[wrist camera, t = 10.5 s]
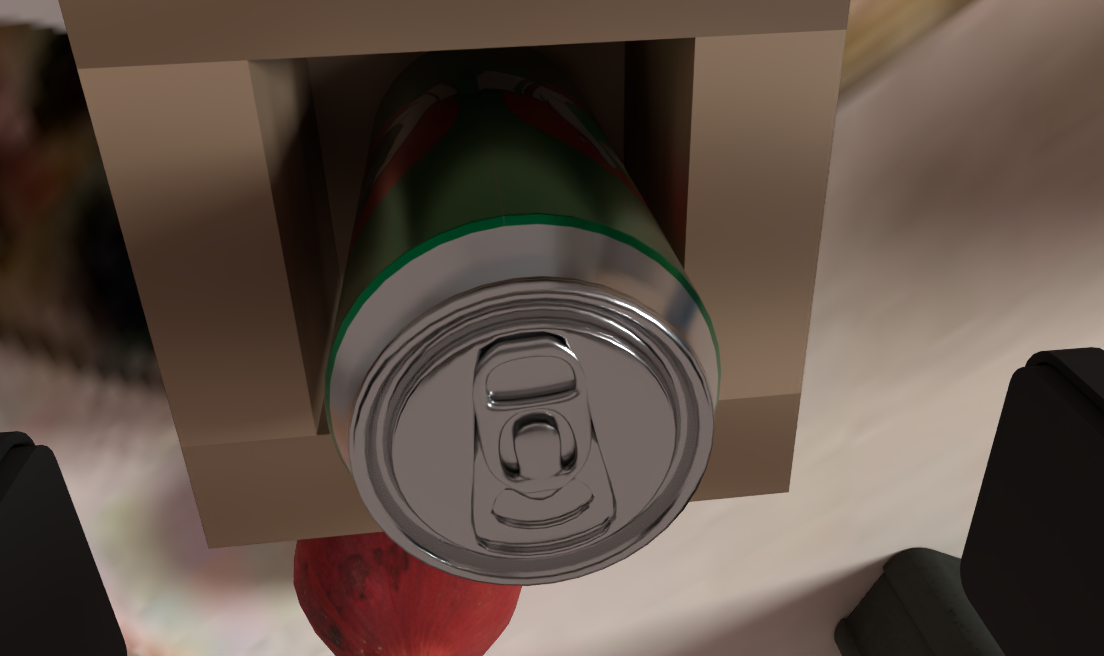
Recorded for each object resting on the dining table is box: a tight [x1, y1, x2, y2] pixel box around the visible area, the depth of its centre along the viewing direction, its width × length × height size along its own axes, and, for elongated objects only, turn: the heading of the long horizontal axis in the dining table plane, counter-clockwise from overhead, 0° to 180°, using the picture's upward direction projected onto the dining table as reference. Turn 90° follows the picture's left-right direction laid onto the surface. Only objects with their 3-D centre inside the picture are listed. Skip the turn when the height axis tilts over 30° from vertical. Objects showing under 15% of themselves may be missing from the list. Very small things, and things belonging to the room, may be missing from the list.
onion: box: [294, 531, 522, 656], centre depth 23 cm, size 6×6×8 cm
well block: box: [59, 0, 850, 548], centre depth 19 cm, size 12×12×7 cm
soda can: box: [324, 46, 721, 586], centre depth 16 cm, size 5×5×12 cm
